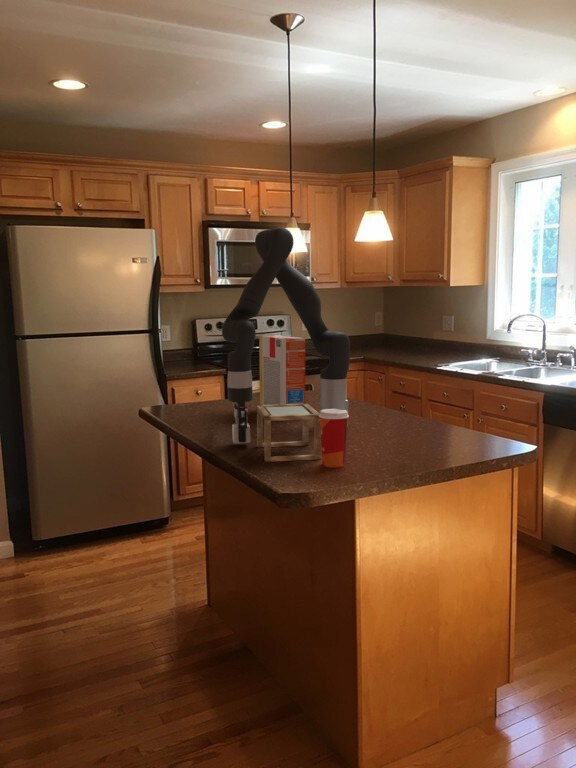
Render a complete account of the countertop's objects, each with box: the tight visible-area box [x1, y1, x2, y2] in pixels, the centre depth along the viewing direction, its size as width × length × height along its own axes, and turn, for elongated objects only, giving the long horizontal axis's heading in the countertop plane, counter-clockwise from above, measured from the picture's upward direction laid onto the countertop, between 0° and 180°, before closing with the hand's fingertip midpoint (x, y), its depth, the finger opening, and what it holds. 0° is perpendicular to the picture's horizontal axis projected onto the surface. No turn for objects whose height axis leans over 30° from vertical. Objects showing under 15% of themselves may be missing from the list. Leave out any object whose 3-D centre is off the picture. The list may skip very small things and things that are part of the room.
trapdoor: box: [266, 406, 310, 415], centre depth 189 cm, size 12×15×1 cm
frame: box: [256, 403, 322, 463], centre depth 190 cm, size 16×19×13 cm
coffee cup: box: [319, 409, 350, 469], centre depth 176 cm, size 8×8×15 cm
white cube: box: [231, 422, 251, 444], centre depth 199 cm, size 5×5×5 cm
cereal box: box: [258, 334, 306, 405], centre depth 250 cm, size 23×8×30 cm, turn 27°
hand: (241, 439), depth 200 cm, fingers closed on white cube, 5 cm apart
